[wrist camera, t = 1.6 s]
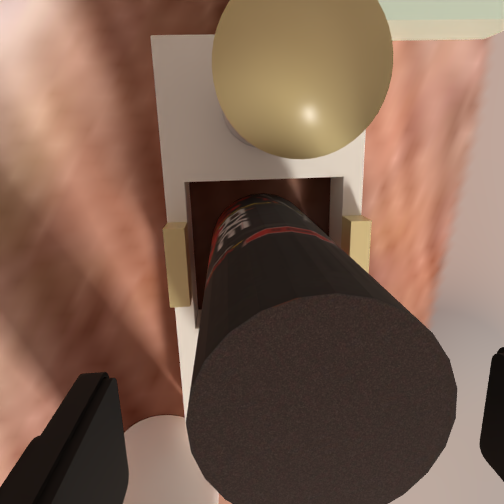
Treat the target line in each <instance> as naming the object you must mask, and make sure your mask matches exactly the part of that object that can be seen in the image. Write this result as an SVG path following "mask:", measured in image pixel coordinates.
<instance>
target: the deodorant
mask: <svg viewBox="0 0 504 504" xmlns="http://www.w3.org/2000/svg"><path fill="white" fill-rule="evenodd" d="M456 401H457V386H456V382H455V378H454V375H453V371H452V367H451V363H450V360H449V358H448V356H447V355H446V354H445V352H444V350H443V349H442V347H441V346H440V344H439V342H438V341H437V339H436V338H435V336H434V334H433V333H432V332H431V331H430V330H429V329H428V328H426V327H425V326H424V325H423V324H422V323H421V322H420V321H419V320H418V319H417V318H416V317H415V316H414V315H412V314H411V313H410V312H409V311H408V310H407V309H406V308H405V307H404V306H403V305H402V304H401V303H400V302H398V301H397V300H396V299H395V298H394V297H393V296H392V295H391V294H390V293H389V292H388V291H387V290H386V289H384V288H383V287H382V286H381V285H380V284H379V283H378V282H377V281H376V280H375V279H374V278H373V277H372V276H370V275H369V274H368V273H367V272H366V271H365V270H364V269H363V268H362V267H361V266H360V265H359V264H358V263H356V262H355V261H354V260H353V259H352V258H351V257H350V256H349V255H348V254H347V253H346V252H345V251H344V250H342V249H341V248H340V247H339V246H338V245H337V244H336V243H335V242H334V241H333V240H332V239H331V238H330V237H328V236H327V235H326V234H325V233H324V232H323V231H322V230H321V229H320V228H319V227H318V226H317V225H316V224H314V223H313V222H312V221H311V220H310V219H309V218H308V217H307V216H306V215H305V214H304V213H303V212H302V211H300V210H299V209H298V208H297V207H296V206H295V205H293V204H292V203H291V202H290V201H288V200H286V199H284V198H281V197H279V196H276V195H270V194H255V195H249V196H246V197H244V198H241V199H239V200H237V201H235V202H234V203H233V204H231V205H230V206H229V207H227V208H226V209H225V211H224V212H223V213H222V214H221V216H220V217H219V218H218V220H217V223H216V225H215V227H214V230H213V235H212V242H211V249H210V256H209V263H208V270H207V277H206V284H205V291H204V298H203V305H202V312H201V319H200V326H199V333H198V340H197V347H196V354H195V360H194V367H193V374H192V381H191V388H190V395H189V402H188V410H187V417H186V428H187V434H188V439H189V444H190V450H191V453H192V455H193V457H194V459H195V461H196V463H197V465H198V467H199V469H200V471H201V472H202V474H203V476H204V478H205V479H206V480H207V481H208V482H209V483H210V484H211V485H212V486H213V487H214V488H215V489H216V490H217V491H218V492H219V493H220V494H221V495H222V496H223V497H224V499H225V500H227V501H229V502H231V503H232V504H388V503H390V502H392V501H393V500H395V499H396V498H398V497H400V496H402V495H403V494H404V493H406V492H407V491H408V490H409V489H410V488H411V487H412V486H414V484H415V483H417V482H418V481H419V480H420V479H421V478H422V477H423V476H424V475H426V473H428V471H429V470H430V468H431V467H432V465H433V464H434V463H435V461H436V460H437V458H438V457H439V455H440V453H441V452H442V451H443V449H444V448H445V446H446V443H447V441H448V438H449V435H450V432H451V429H452V427H453V424H454V421H455V418H456Z"/></svg>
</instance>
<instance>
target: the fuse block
mask: <svg viewBox="0 0 504 504" xmlns="http://www.w3.org/2000/svg"><path fill="white" fill-rule="evenodd" d="M150 36H151V47H152V59H153V70H154V81H155V92H156V103H157V114H158V125H159V136H160V147H161V158H162V170H163V181H164V192H165V203H166V214H167V224H166V225H165V227H164V228H163V239H164V249H165V260H166V271H167V281H168V292H169V303H170V308H172V307H175V314H176V325H177V336H178V347H179V358H180V369H181V381H182V392H183V403H184V414H185V425H186V417H187V410H188V402H189V395H190V388H191V381H192V374H193V367H194V360H195V354H196V347H197V340H198V333H199V326H200V319H201V312H202V310H198V298H197V284H196V270H195V256H194V242H193V228H192V214H191V200H190V187H189V182H202V181H231V180H261V179H290V178H320V177H331V184H330V218H329V237H330V238H331V239H332V240H333V241H334V242H335V243H336V244H337V245H338V246H339V247H340V248H341V249H342V250H344V251H345V252H346V253H347V254H348V255H349V256H350V257H351V258H352V259H353V260H354V261H355V262H356V263H358V264H359V265H360V266H361V267H362V268H363V269H364V270H365V271H366V272H367V273H368V272H369V256H370V239H371V223H372V221H371V220H369V219H368V218H366V217H364V216H362V215H361V209H362V190H363V170H364V151H365V132H366V128H367V127H368V126H369V125H370V123H371V122H372V121H373V119H374V118H375V116H376V115H377V113H378V112H379V110H380V108H381V106H382V104H383V102H384V99H385V97H386V94H387V91H388V88H389V84H390V80H391V76H392V68H393V45H392V37H391V33H390V28H389V24H388V22H387V19H386V16H385V13H384V11H383V9H382V7H381V6H380V4H379V2H378V0H230V1H229V2H228V4H227V6H226V8H225V10H224V12H223V13H222V15H221V18H220V21H219V23H218V26H217V29H216V33H215V34H207V35H150Z"/></svg>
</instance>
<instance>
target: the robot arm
mask: <svg viewBox="0 0 504 504" xmlns="http://www.w3.org/2000/svg"><path fill="white" fill-rule="evenodd" d="M480 449H481V453H482V455H483V457H484V458H485V459H486V461H487V462H488V463H489V465H490V466H491V467H492V468H493V469H494V470H495V472H496V473H497V474H498V475H499V476H500V477H501V479H502V480H503V481H504V347H502V348H500V349H499V350H498V352H497V354H495V355H494V356H493V357H492V361H491V368H490V375H489V382H488V389H487V395H486V402H485V409H484V417H483V423H482V430H481V436H480ZM128 481H129V468H128V461H127V453H126V446H125V438H124V431H123V423H122V416H121V409H120V401H119V394H118V386H117V381H116V379H115V378H109V376H108V374H107V373H106V372H101V373H85V374H81V375H80V376H79V377H78V378H77V380H76V381H75V383H74V385H73V386H72V388H71V389H70V391H69V392H68V394H67V395H66V397H65V398H64V400H63V402H62V403H61V405H60V406H59V408H58V409H57V411H56V412H55V414H54V415H53V417H52V419H51V420H50V422H49V423H48V425H47V426H46V428H45V429H44V431H43V433H42V434H41V436H37V437H35V438H34V439H33V440H32V441H31V442H30V444H29V445H28V447H27V448H26V450H25V451H24V453H23V454H22V456H21V457H20V459H19V460H18V462H17V463H16V465H15V466H14V468H13V469H12V471H11V472H10V474H9V475H8V477H7V478H6V480H5V481H4V483H3V484H2V486H1V487H0V504H123V502H124V498H125V495H126V491H127V487H128Z"/></svg>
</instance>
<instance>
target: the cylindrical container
mask: <svg viewBox="0 0 504 504" xmlns="http://www.w3.org/2000/svg"><path fill="white" fill-rule="evenodd" d="M124 438H125V446H126V453H127V461H128V468H129V481H128V487H127V491H126V495H125V498H124V502H123V504H218V499H219V492H218V491H217V490H216V489H215V488H214V487H213V486H212V485H211V484H210V483H209V482H208V481H207V480H206V479H205V478H204V476H203V474H202V472H201V471H200V469H199V467H198V465H197V463H196V461H195V459H194V457H193V455H192V453H191V450H190V444H189V439H188V434H187V428H186V425H185V418H184V417H181V416H174V415H159V416H154V417H149V418H147V419H144V420H141V421H139V422H138V423H136V424H134V425H133V426H131V427H130V428H129V429H128V430H127V431H126V432H125V433H124Z"/></svg>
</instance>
